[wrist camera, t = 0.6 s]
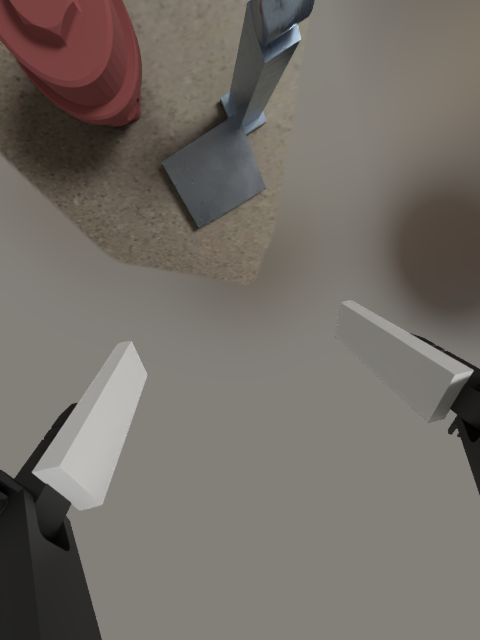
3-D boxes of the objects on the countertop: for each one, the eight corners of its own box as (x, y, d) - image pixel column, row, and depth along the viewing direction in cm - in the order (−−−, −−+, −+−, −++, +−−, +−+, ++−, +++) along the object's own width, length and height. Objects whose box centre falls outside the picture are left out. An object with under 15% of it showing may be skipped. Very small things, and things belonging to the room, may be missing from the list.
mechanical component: (172, 129, 26) (102, 159, 26) (125, 9, 21) (39, 47, 21) (148, 63, 15) (27, 116, 15) (37, -220, 10) (-137, -135, 10)
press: (152, 145, 26) (107, 82, 14) (250, 80, 25) (293, -49, 13) (199, 228, 31) (195, 234, 19) (282, 178, 30) (333, 151, 18)
